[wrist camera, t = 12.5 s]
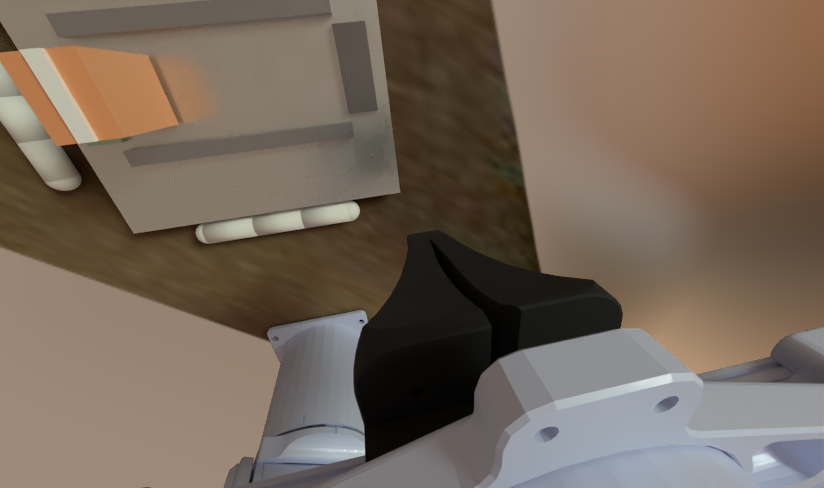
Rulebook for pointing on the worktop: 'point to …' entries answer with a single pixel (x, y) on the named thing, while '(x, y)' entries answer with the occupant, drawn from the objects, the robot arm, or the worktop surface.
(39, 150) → the rod
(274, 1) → the breaker panel
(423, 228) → the worktop surface
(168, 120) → the lever
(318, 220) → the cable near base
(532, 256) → the worktop surface
